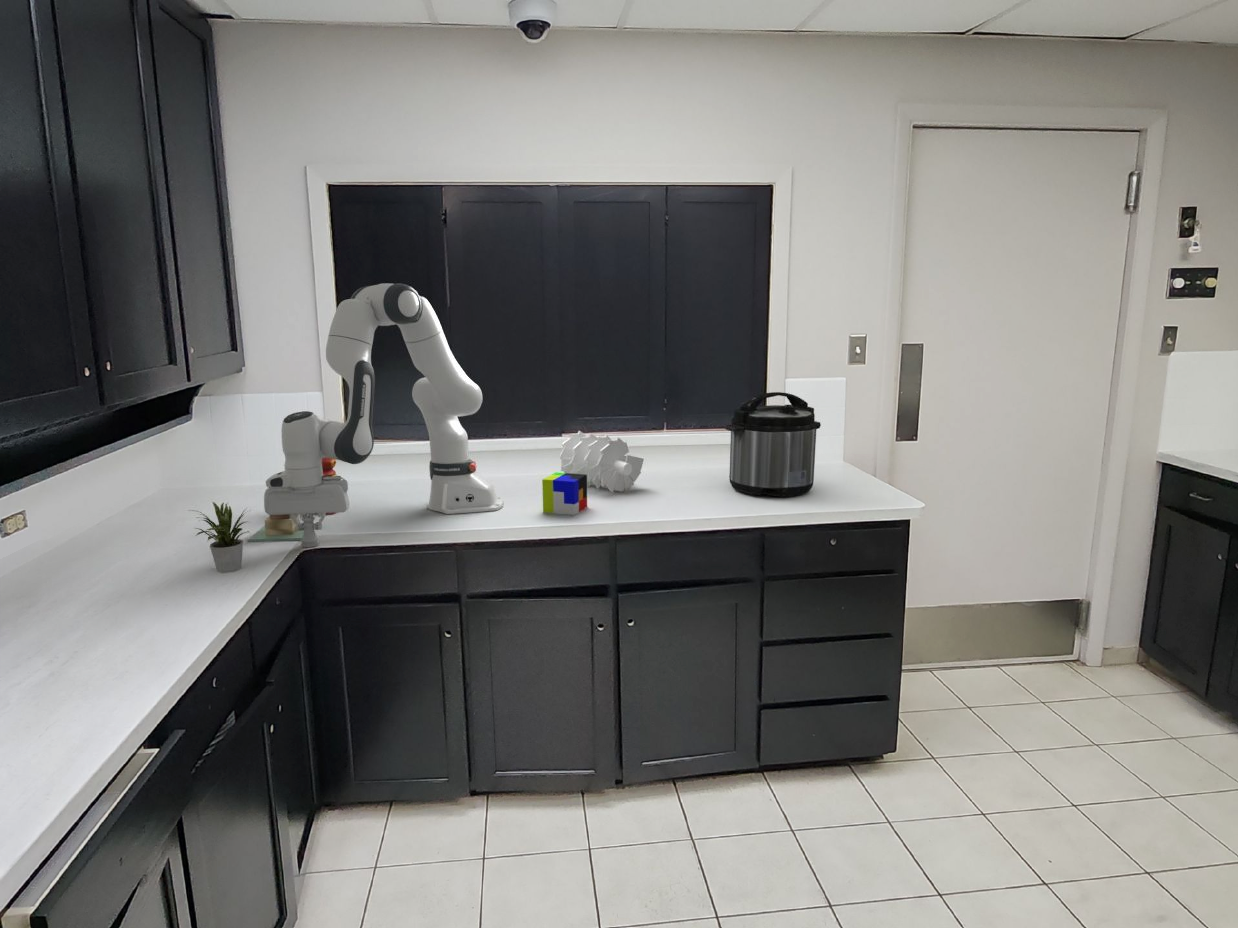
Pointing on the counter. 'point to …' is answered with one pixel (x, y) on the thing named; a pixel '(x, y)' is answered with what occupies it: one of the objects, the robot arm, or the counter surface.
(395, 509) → the counter surface
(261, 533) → the build pad
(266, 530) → the oak base block
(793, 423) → the pressure cooker
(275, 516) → the walnut cube
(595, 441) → the spiral staircase
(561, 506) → the puzzle toy
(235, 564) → the house plant
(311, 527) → the rook chess piece
